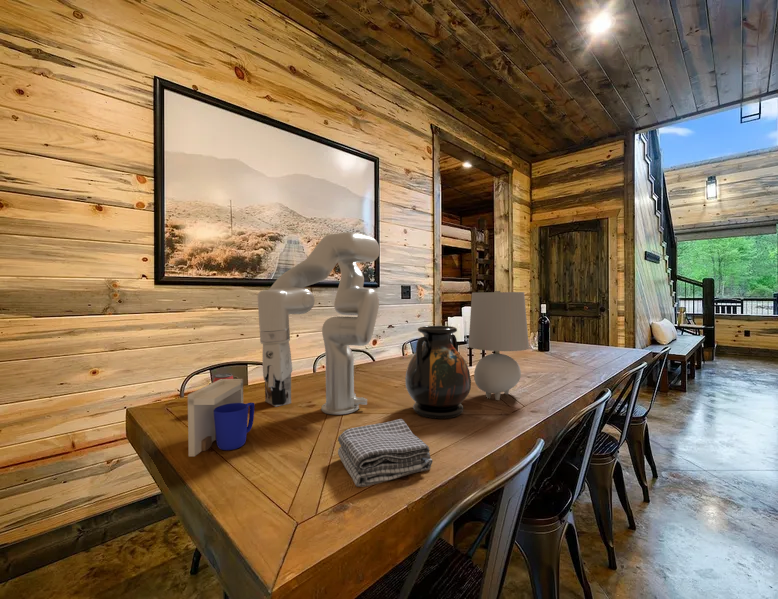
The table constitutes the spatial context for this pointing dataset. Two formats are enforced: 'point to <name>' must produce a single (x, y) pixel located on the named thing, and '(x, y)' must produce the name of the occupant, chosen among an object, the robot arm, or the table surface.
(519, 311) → the table lamp
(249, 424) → the mug
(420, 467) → the towel
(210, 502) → the table surface
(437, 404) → the amphora vase
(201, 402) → the shelf
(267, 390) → the coffee box
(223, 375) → the beer can
